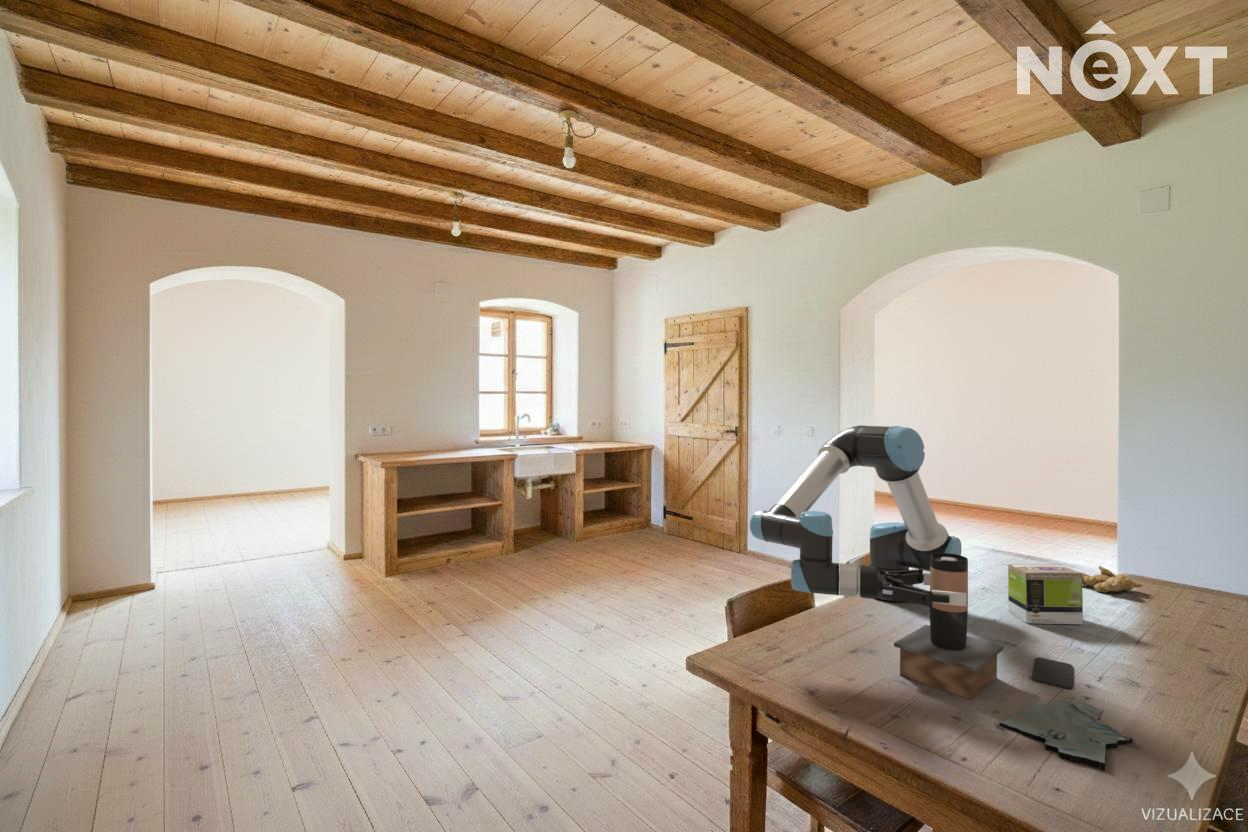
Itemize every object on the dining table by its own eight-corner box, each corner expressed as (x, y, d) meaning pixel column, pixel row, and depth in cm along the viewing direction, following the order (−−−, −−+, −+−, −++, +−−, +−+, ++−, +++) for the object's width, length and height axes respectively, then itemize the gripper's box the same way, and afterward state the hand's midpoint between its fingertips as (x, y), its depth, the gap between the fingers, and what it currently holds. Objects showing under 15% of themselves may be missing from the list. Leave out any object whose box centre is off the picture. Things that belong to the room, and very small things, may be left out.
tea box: (1061, 613, 177) (1061, 563, 177) (1083, 626, 167) (1084, 573, 167) (1006, 611, 179) (1007, 562, 178) (1026, 624, 169) (1026, 571, 168)
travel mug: (965, 640, 139) (966, 554, 138) (969, 653, 132) (970, 563, 131) (928, 635, 142) (929, 551, 142) (929, 647, 135) (930, 559, 135)
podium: (893, 674, 138) (893, 642, 138) (925, 654, 149) (926, 624, 149) (974, 703, 125) (974, 667, 125) (1003, 678, 136) (1003, 645, 136)
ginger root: (1156, 594, 190) (1149, 569, 190) (1106, 606, 190) (1100, 581, 191) (1116, 581, 206) (1110, 558, 206) (1071, 592, 206) (1065, 569, 206)
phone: (1073, 664, 142) (1072, 688, 130) (1073, 667, 142) (1072, 692, 130) (1035, 656, 147) (1031, 678, 135) (1035, 659, 147) (1031, 682, 135)
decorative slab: (965, 697, 129) (966, 688, 129) (1082, 699, 128) (1082, 690, 128) (1045, 772, 103) (1045, 761, 103) (1192, 776, 102) (1193, 764, 102)
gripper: (857, 581, 155) (949, 590, 148) (860, 614, 131) (971, 626, 124) (857, 552, 155) (950, 559, 148) (860, 580, 131) (971, 590, 124)
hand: (960, 590), depth 136 cm, fingers open, 13 cm apart
